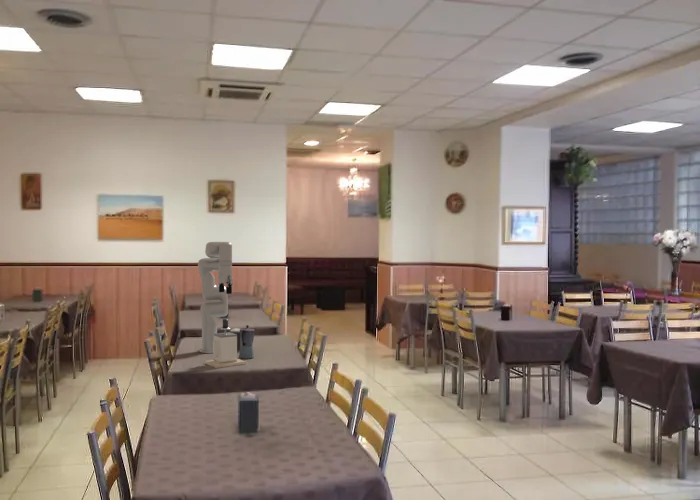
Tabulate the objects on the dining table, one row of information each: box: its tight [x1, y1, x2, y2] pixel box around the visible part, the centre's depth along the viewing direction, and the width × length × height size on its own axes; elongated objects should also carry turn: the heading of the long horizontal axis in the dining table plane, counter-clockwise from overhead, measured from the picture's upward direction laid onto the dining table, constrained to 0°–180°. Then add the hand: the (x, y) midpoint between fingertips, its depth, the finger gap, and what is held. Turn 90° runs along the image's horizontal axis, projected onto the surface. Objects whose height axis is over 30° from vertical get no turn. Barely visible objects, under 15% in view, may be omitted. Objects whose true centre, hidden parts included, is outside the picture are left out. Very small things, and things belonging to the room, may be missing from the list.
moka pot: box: [238, 324, 255, 360], centre depth 401 cm, size 10×15×20 cm, turn 174°
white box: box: [204, 331, 247, 369], centre depth 384 cm, size 15×19×18 cm
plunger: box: [220, 318, 231, 335], centre depth 384 cm, size 8×8×23 cm
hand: (225, 292), depth 383 cm, fingers open, 9 cm apart
